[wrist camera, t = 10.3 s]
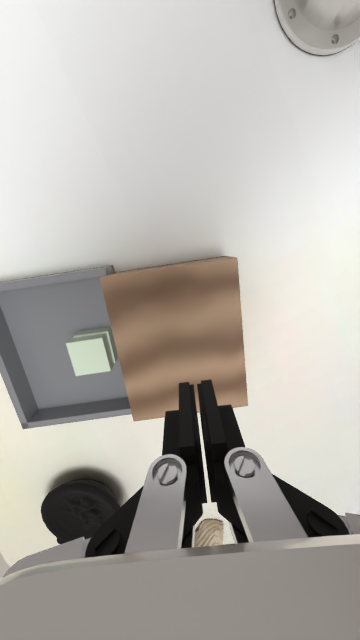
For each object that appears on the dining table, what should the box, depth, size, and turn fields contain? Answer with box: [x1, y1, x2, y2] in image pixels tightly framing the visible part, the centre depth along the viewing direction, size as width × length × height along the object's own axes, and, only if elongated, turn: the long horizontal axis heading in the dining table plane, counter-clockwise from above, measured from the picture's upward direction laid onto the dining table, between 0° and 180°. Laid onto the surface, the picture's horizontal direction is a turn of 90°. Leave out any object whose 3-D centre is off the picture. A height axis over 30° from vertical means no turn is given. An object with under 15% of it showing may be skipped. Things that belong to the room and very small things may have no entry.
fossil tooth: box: [194, 519, 224, 547], centre depth 45 cm, size 12×6×15 cm
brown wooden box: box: [100, 256, 248, 421], centre depth 33 cm, size 20×16×7 cm
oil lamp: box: [41, 479, 121, 544], centre depth 44 cm, size 15×20×5 cm
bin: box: [0, 266, 132, 429], centre depth 35 cm, size 22×18×4 cm
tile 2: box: [74, 327, 118, 363], centre depth 35 cm, size 5×5×2 cm
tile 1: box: [66, 333, 114, 376], centre depth 34 cm, size 5×5×2 cm
